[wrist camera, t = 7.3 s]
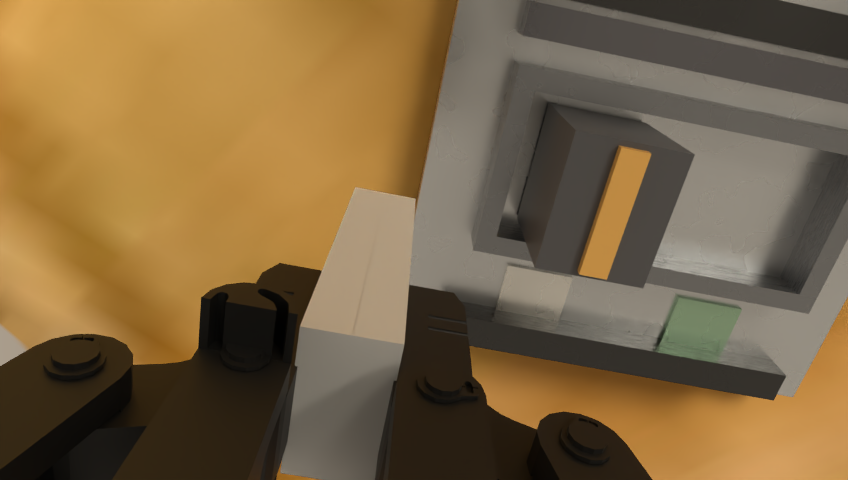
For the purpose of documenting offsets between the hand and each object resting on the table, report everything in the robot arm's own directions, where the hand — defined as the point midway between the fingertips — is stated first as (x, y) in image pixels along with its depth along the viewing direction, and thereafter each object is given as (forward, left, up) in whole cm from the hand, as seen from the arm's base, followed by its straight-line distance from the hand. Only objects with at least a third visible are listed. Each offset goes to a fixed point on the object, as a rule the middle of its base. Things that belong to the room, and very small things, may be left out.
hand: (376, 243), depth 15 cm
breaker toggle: (0, +8, -10) cm, 13 cm away
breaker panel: (0, +11, -13) cm, 17 cm away
